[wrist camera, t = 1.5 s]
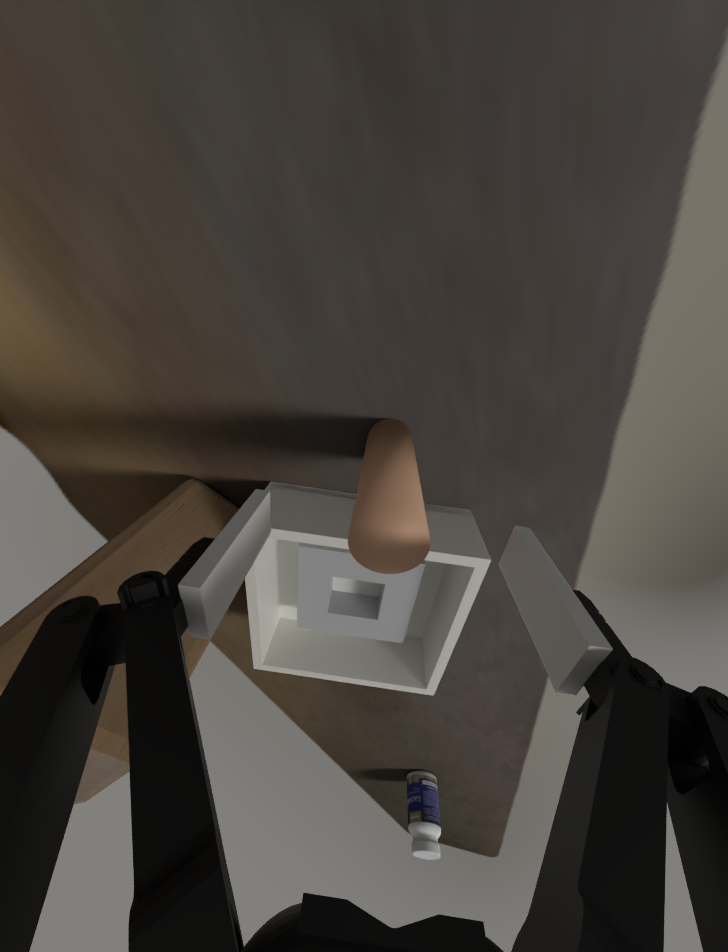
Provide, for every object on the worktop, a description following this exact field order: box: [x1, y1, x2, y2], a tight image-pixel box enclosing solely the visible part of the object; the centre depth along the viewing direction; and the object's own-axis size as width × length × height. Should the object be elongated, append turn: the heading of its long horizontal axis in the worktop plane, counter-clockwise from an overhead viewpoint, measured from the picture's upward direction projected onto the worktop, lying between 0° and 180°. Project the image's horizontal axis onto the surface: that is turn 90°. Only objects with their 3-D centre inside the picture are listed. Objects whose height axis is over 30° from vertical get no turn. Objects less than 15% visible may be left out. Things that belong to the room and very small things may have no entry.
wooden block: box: [0, 479, 243, 804], centre depth 25 cm, size 10×10×20 cm
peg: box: [348, 419, 430, 574], centre depth 21 cm, size 4×4×14 cm
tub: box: [245, 481, 491, 696], centre depth 31 cm, size 20×20×7 cm
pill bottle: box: [407, 770, 441, 860], centre depth 54 cm, size 6×6×10 cm
